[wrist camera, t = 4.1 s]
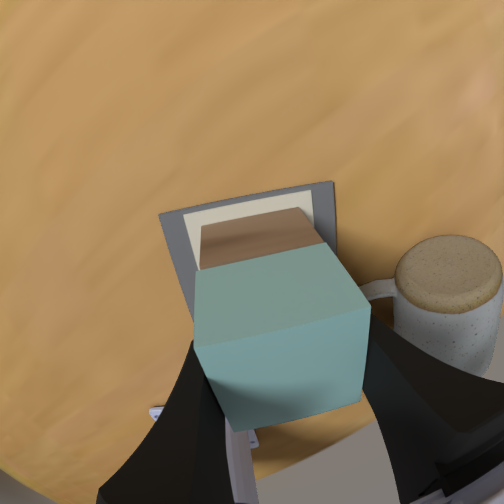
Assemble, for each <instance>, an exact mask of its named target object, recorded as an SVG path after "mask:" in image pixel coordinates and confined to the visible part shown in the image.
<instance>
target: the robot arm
mask: <svg viewBox="0 0 504 504" xmlns="http://www.w3.org/2000/svg"><path fill="white" fill-rule="evenodd" d="M362 390H363V392H364V394H365V396H366V398H367V400H368V401H369V403H370V405H371V407H372V409H373V412H374V414H375V416H376V419H377V421H378V424H379V427H380V430H381V433H382V436H383V439H384V442H385V445H386V448H387V451H388V454H389V458H390V461H391V465H392V469H393V473H394V476H395V481H396V485H397V490H398V494H399V500H400V503H401V504H446V503H447V504H504V383H501V382H496V381H492V380H488V379H485V378H481V377H479V376H476V375H473V374H470V373H467V372H465V371H462V370H460V369H458V368H455V367H453V366H451V365H449V364H446V363H444V362H442V361H440V360H439V359H437V358H435V357H433V356H431V355H429V354H427V353H426V352H424V351H422V350H421V349H419V348H418V347H416V346H415V345H413V344H412V343H410V342H409V341H407V340H406V339H404V338H403V337H401V336H400V335H399V334H397V333H396V332H395V331H393V330H392V329H391V328H389V327H388V326H387V325H385V324H384V323H383V322H382V321H380V320H379V319H378V318H377V317H375V316H374V315H373V314H372V313H371V314H370V326H369V336H368V346H367V355H366V364H365V371H364V379H363V386H362ZM149 414H150V415H151V416H152V418H153V419H154V420H155V423H154V425H153V427H152V428H151V430H150V431H149V433H148V434H147V435H146V437H145V438H144V440H143V441H142V443H141V444H140V445H139V447H138V448H137V449H136V450H135V452H134V453H133V454H132V455H131V456H130V457H129V459H128V460H127V461H126V462H125V463H124V464H123V466H122V467H121V468H120V469H119V470H118V471H117V472H116V473H115V474H114V475H113V476H112V477H111V478H110V479H109V480H108V481H106V482H105V483H104V484H103V485H102V486H101V487H100V488H99V491H98V495H97V500H96V504H259V501H258V495H257V488H256V482H255V476H254V469H253V463H252V456H251V449H252V448H257V447H258V446H259V442H258V439H257V436H256V434H255V431H254V429H252V430H246V431H241V432H235V433H234V432H233V430H232V428H231V426H230V424H229V422H228V420H227V418H226V416H225V414H224V412H223V410H222V408H221V406H220V404H219V402H218V400H217V398H216V396H215V394H214V392H213V390H212V388H211V385H210V383H209V381H208V379H207V377H206V375H205V372H204V370H203V368H202V366H201V364H200V361H199V359H198V357H197V355H196V352H195V350H194V339H193V340H192V342H191V344H190V347H189V350H188V353H187V356H186V359H185V362H184V364H183V367H182V369H181V372H180V374H179V376H178V379H177V381H176V384H175V386H174V388H173V390H172V392H171V394H170V396H169V398H168V400H167V402H166V404H165V406H164V407H153V408H150V410H149Z"/></svg>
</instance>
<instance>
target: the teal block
mask: <svg viewBox="0 0 504 504" xmlns="http://www.w3.org/2000/svg"><path fill="white" fill-rule="evenodd" d="M370 314H371V305H370V304H369V302H368V301H367V299H366V298H365V296H364V295H363V293H362V292H361V291H360V289H359V288H358V286H357V285H356V283H355V282H354V281H353V279H352V278H351V276H350V275H349V273H348V272H347V271H346V269H345V268H344V267H343V265H342V264H341V262H340V261H339V260H338V258H337V257H336V255H335V254H334V253H333V251H332V250H331V249H330V247H329V246H328V245H327V243H326V242H325V243H320V244H316V245H312V246H307V247H303V248H298V249H294V250H289V251H285V252H280V253H276V254H271V255H267V256H262V257H258V258H253V259H249V260H244V261H240V262H235V263H231V264H226V265H222V266H217V267H213V268H208V269H204V270H199V271H196V276H195V304H194V350H195V352H196V355H197V357H198V359H199V361H200V364H201V366H202V368H203V370H204V372H205V375H206V377H207V379H208V381H209V383H210V385H211V388H212V390H213V392H214V394H215V396H216V398H217V400H218V402H219V404H220V406H221V408H222V410H223V412H224V414H225V416H226V418H227V420H228V422H229V424H230V426H231V428H232V430H233V432H234V433H235V432H241V431H246V430H252V429H257V428H262V427H267V426H272V425H276V424H281V423H285V422H290V421H294V420H298V419H302V418H306V417H310V416H313V415H317V414H321V413H324V412H328V411H331V410H334V409H338V408H341V407H344V406H347V405H351V404H354V403H357V402H360V399H361V393H362V386H363V379H364V371H365V364H366V355H367V346H368V336H369V326H370Z"/></svg>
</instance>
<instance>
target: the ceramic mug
mask: <svg viewBox="0 0 504 504" xmlns="http://www.w3.org/2000/svg"><path fill="white" fill-rule="evenodd" d="M358 288H359V289H360V291H361V292H362V293H363V295H364V296H365V298H366V299H367V301H370V300H374V299H377V298H385V297H393V306H394V308H393V315H394V331H395V332H396V333H397V334H399V335H400V336H401V337H403V338H404V339H406V340H407V341H409V342H410V343H412V344H413V345H415V346H416V347H418V348H419V349H421V350H422V351H424V352H426V353H427V354H429V355H431V356H433V357H435V358H437V359H439V360H440V361H442V362H444V363H446V364H449V365H451V366H453V367H455V368H458V369H460V370H462V371H465V372H467V373H470V374H473V375H476V376H479V377H482V375H484V373H485V372H486V370H487V368H488V367H489V365H490V362H491V359H492V355H493V352H494V347H495V342H496V337H497V332H498V326H499V320H500V313H501V308H502V303H503V295H504V283H503V272H502V267H501V263H500V261H499V259H498V257H497V256H496V254H495V253H494V252H493V250H491V249H490V248H489V247H488V246H486V245H485V244H484V243H482V242H480V241H478V240H476V239H474V238H470V237H466V236H459V235H442V236H437V237H433V238H430V239H427V240H424V241H422V242H420V243H418V244H417V245H415V246H413V247H412V248H411V249H410V250H409V251H408V252H406V253H405V254H404V256H403V257H402V258H401V260H400V261H399V263H398V265H397V268H396V273H395V276H394V277H393V278H392V279H382V280H374V281H372V282H370V283H367V284H364V285H362V286H359V287H358Z"/></svg>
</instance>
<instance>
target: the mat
mask: <svg viewBox="0 0 504 504" xmlns="http://www.w3.org/2000/svg"><path fill="white" fill-rule="evenodd" d="M294 207H299V208H300V210H301V211H302V212H303V214H304V215H305V216H306V218H307V219H308V220H309V222H310V223H311V225H312V226H313V227H314V229H315V230H316V232H317V233H318V234H319V236H320V237H321V238H322V240H323V241H324V243H325V242H326V243H327V245H328V246H329V247H330V249H331V250H332V251H333V253H334V254H335V255H336V257H337V253H336V225H335V205H334V189H333V181H326V182H319V183H313V184H307V185H301V186H295V187H289V188H284V189H278V190H273V191H267V192H262V193H256V194H251V195H246V196H241V197H236V198H231V199H226V200H221V201H216V202H211V203H207V204H202V205H197V206H193V207H188V208H183V209H179V210H175V211H170V212H166V213H161V214H159V215H158V216H159V219H160V222H161V226H162V229H163V232H164V236H165V239H166V242H167V245H168V249H169V252H170V255H171V258H172V261H173V264H174V267H175V270H176V273H177V276H178V279H179V282H180V285H181V288H182V291H183V294H184V297H185V300H186V303H187V305H188V308H189V311H190V314H191V317H192V319H193V322H194V304H195V276H196V271H199V270H200V267H199V261H200V240H201V226H203V225H208V224H212V223H217V222H222V221H227V220H232V219H237V218H242V217H247V216H252V215H257V214H262V213H268V212H273V211H278V210H283V209H289V208H294Z"/></svg>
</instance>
